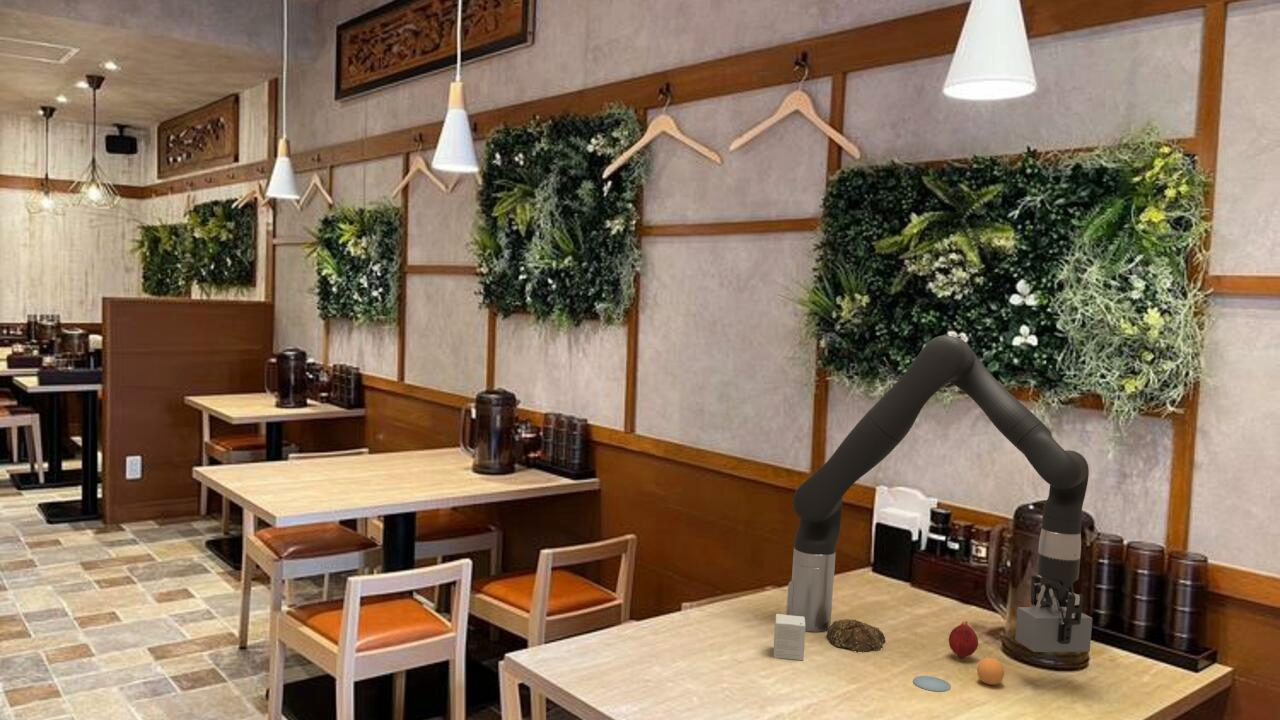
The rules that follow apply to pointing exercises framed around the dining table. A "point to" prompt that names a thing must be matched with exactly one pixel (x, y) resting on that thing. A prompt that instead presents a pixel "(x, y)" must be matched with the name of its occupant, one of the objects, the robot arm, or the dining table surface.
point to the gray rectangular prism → (1050, 631)
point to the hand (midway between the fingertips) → (1052, 636)
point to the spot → (932, 683)
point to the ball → (990, 671)
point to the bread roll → (855, 636)
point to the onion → (963, 640)
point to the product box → (789, 637)
